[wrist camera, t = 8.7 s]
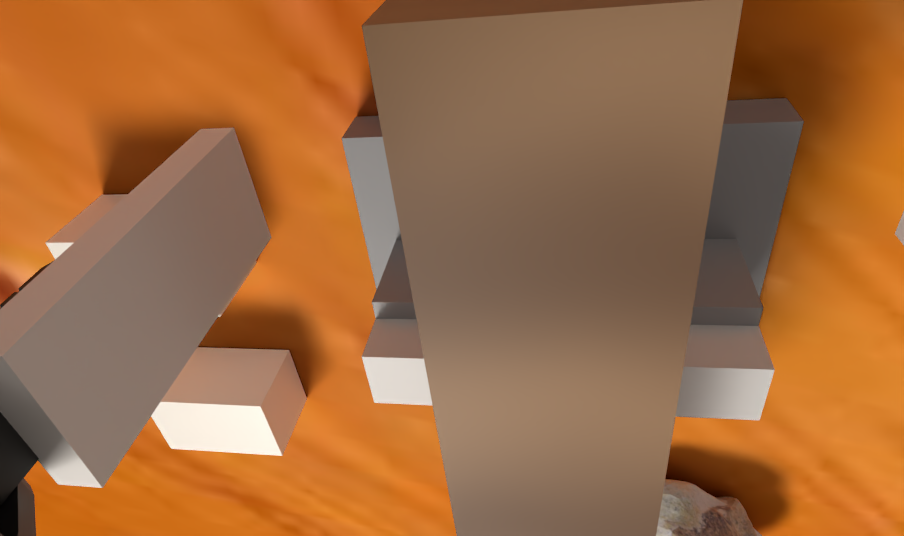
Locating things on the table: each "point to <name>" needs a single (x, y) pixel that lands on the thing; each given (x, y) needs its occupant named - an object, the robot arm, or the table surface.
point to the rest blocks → (217, 382)
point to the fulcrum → (718, 287)
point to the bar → (553, 239)
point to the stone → (700, 513)
